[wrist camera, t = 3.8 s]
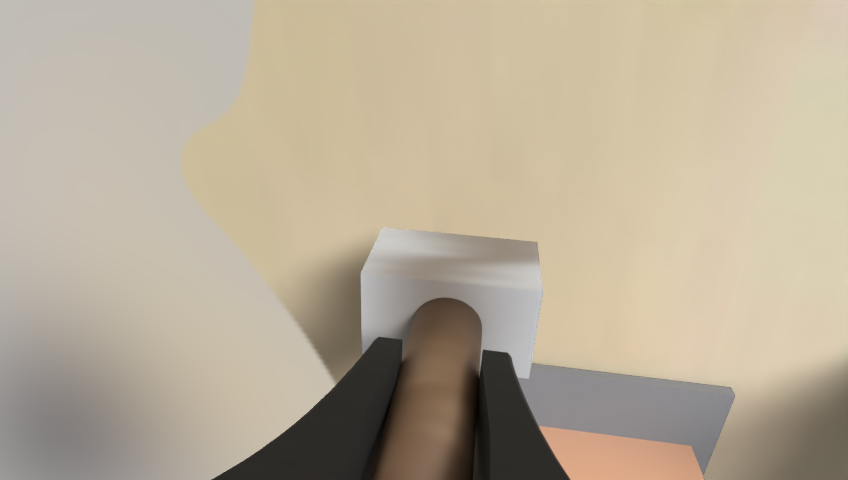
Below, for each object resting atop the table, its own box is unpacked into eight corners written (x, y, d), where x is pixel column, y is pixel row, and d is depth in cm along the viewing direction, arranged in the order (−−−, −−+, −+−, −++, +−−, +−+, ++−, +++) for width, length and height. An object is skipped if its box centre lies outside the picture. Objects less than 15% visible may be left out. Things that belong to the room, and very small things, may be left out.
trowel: (537, 242, 17) (572, 533, 8) (525, 319, 18) (544, 643, 10) (382, 227, 18) (257, 487, 9) (381, 304, 19) (273, 597, 10)
